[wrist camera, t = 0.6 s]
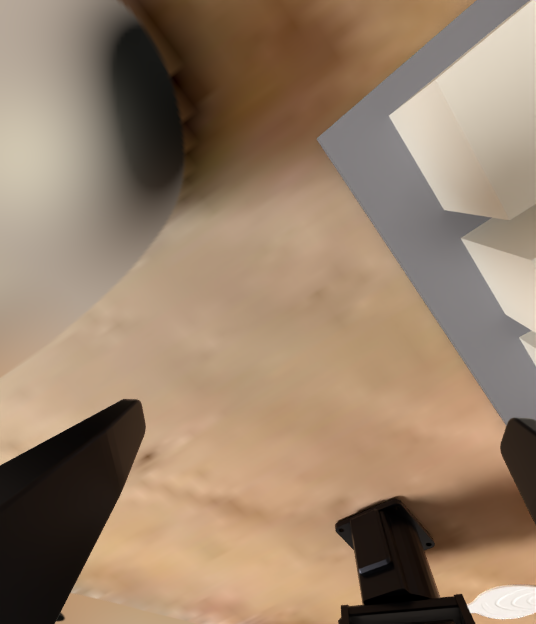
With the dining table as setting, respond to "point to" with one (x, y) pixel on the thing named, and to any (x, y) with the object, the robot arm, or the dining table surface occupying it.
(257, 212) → the dining table surface
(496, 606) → the spoon
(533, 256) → the blank block
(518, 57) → the digit block 7
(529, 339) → the digit block 1
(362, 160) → the tap mat
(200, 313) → the dining table surface
